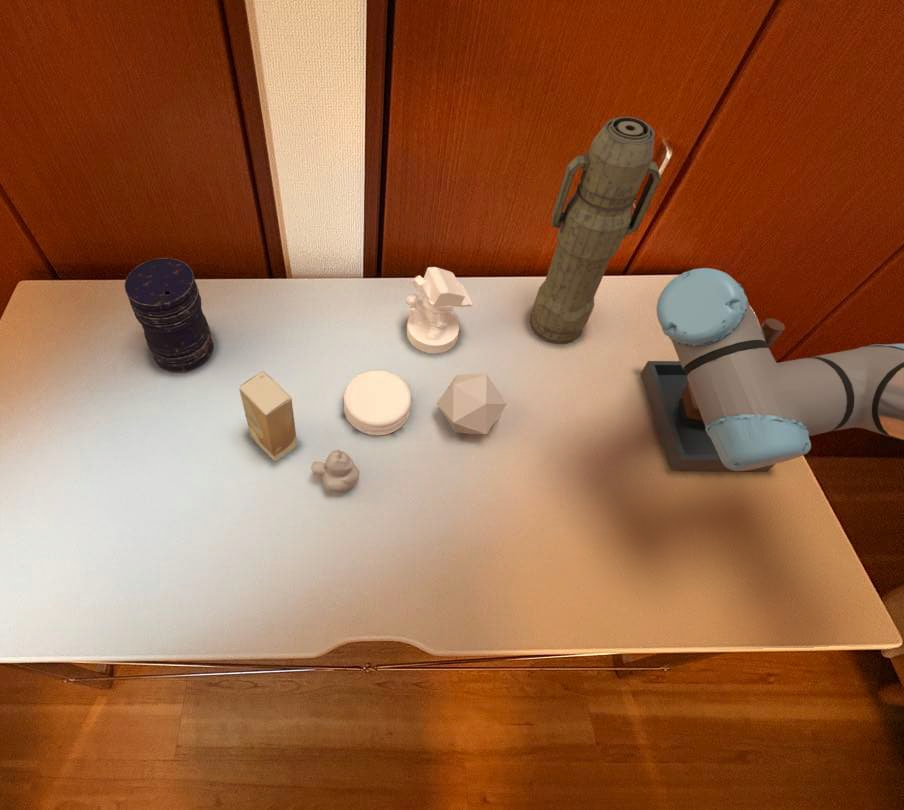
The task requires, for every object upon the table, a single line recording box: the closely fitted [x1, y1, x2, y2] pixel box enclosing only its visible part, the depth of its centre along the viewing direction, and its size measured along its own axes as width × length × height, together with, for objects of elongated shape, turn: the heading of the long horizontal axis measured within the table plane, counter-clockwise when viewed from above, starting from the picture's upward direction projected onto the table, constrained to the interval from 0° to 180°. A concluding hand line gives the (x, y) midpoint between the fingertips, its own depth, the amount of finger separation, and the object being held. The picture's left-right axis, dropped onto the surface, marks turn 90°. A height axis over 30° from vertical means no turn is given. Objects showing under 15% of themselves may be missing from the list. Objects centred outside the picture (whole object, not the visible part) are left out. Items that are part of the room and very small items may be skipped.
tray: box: [640, 360, 776, 472], centre depth 91 cm, size 18×14×3 cm
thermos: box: [529, 116, 662, 345], centre depth 89 cm, size 9×12×35 cm
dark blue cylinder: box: [124, 257, 214, 374], centre depth 93 cm, size 10×10×15 cm
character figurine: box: [405, 266, 473, 355], centre depth 97 cm, size 9×10×12 cm
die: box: [436, 373, 508, 435], centre depth 89 cm, size 8×9×10 cm
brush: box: [678, 317, 786, 428], centre depth 84 cm, size 7×5×18 cm
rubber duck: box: [310, 449, 360, 494], centre depth 82 cm, size 5×7×8 cm
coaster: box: [343, 369, 412, 436], centre depth 91 cm, size 10×10×4 cm
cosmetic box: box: [238, 370, 298, 462], centre depth 84 cm, size 6×4×12 cm
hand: (750, 373), depth 88 cm, fingers closed on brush, 2 cm apart
